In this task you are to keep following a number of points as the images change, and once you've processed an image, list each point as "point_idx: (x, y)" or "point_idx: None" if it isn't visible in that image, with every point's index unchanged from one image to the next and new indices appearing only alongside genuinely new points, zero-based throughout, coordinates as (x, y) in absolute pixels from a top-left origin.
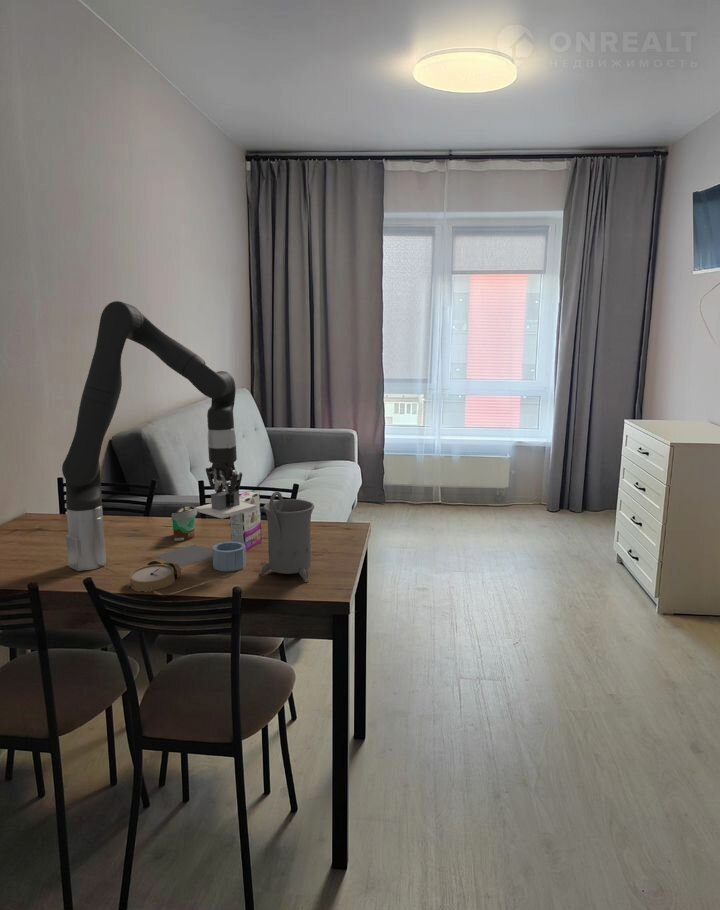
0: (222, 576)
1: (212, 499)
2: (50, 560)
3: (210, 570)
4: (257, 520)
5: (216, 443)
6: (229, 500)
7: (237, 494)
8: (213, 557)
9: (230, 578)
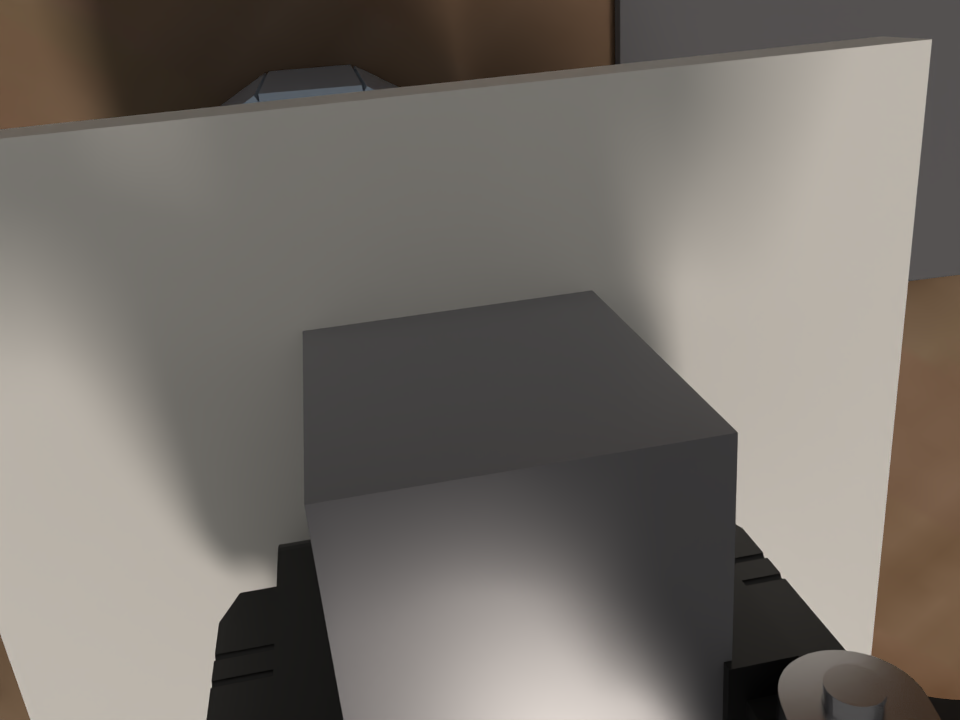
0: (139, 31)
1: (614, 378)
2: None
3: (370, 34)
4: None
5: None
6: (234, 671)
7: None
8: (361, 76)
9: (35, 60)
